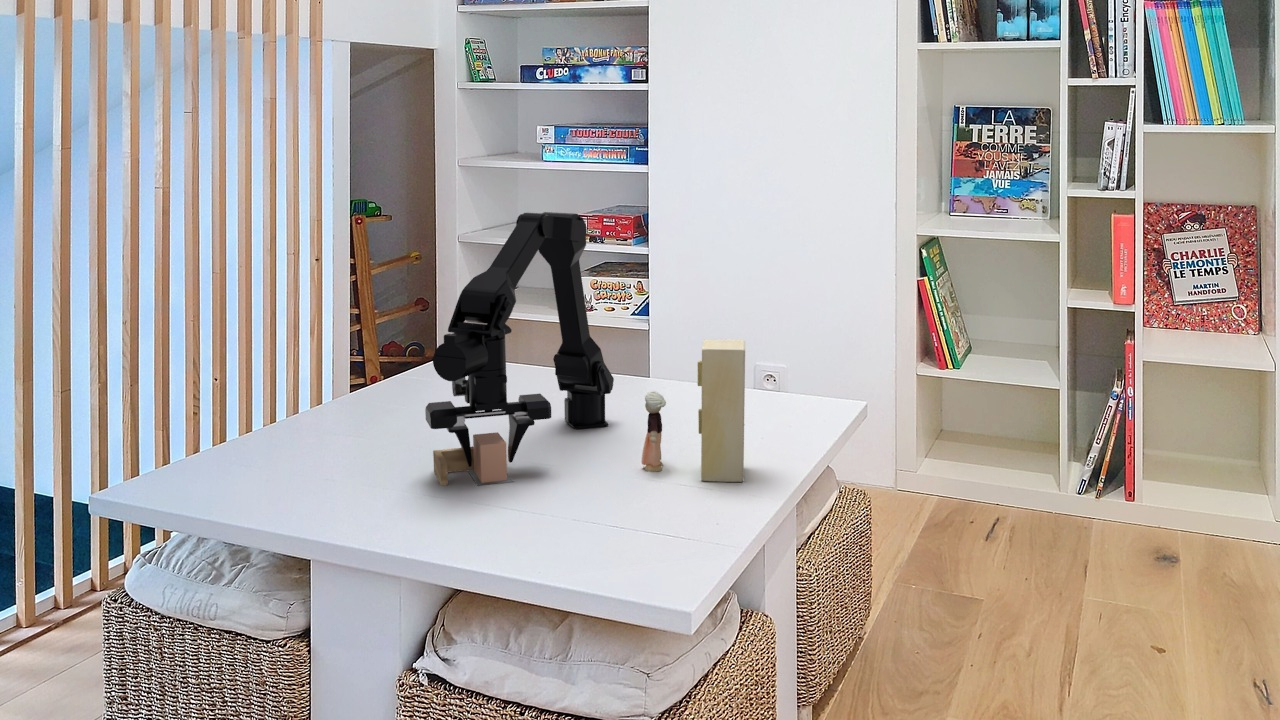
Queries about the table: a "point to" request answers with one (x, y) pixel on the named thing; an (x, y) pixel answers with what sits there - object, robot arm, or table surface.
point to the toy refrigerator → (722, 409)
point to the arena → (456, 465)
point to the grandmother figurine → (653, 432)
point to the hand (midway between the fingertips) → (490, 463)
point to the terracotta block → (490, 457)
